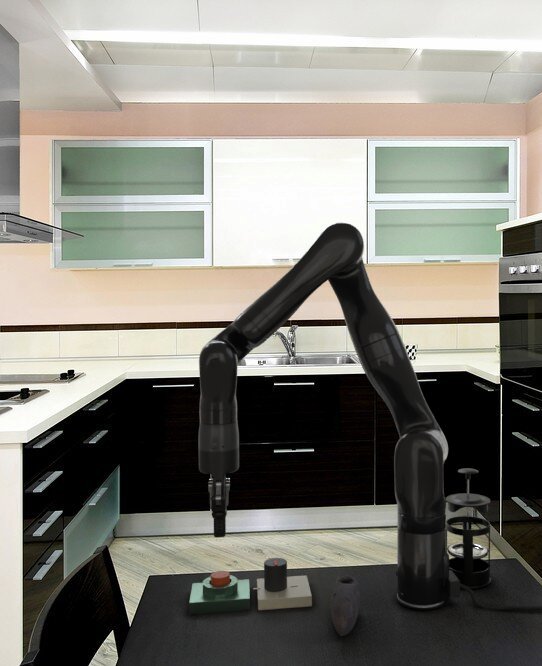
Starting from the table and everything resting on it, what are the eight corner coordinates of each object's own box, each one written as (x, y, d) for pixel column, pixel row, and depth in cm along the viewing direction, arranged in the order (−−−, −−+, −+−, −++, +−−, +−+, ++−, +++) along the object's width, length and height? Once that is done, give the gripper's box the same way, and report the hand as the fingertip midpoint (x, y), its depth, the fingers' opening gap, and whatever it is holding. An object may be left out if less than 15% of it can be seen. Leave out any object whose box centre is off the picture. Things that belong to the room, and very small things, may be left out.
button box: (249, 590, 135) (249, 570, 134) (249, 610, 126) (249, 588, 126) (192, 594, 133) (192, 574, 133) (189, 614, 124) (188, 593, 124)
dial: (263, 583, 133) (263, 557, 133) (286, 581, 134) (285, 555, 133) (264, 593, 128) (264, 565, 128) (288, 591, 129) (287, 563, 129)
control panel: (306, 584, 137) (306, 574, 137) (311, 606, 127) (311, 595, 127) (252, 588, 135) (252, 578, 135) (253, 610, 125) (253, 599, 125)
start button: (230, 578, 131) (229, 570, 131) (229, 586, 128) (229, 577, 128) (211, 580, 131) (211, 571, 131) (210, 587, 127) (210, 578, 127)
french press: (492, 592, 133) (493, 476, 132) (444, 589, 134) (444, 475, 134) (489, 569, 145) (489, 463, 144) (444, 567, 146) (445, 461, 145)
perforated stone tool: (356, 645, 112) (355, 604, 112) (324, 644, 113) (324, 603, 113) (362, 605, 127) (362, 569, 127) (334, 604, 128) (334, 568, 128)
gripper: (238, 452, 122) (239, 546, 123) (239, 438, 135) (239, 523, 136) (196, 453, 121) (197, 549, 122) (200, 439, 134) (201, 526, 135)
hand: (219, 535), depth 129 cm, fingers closed
